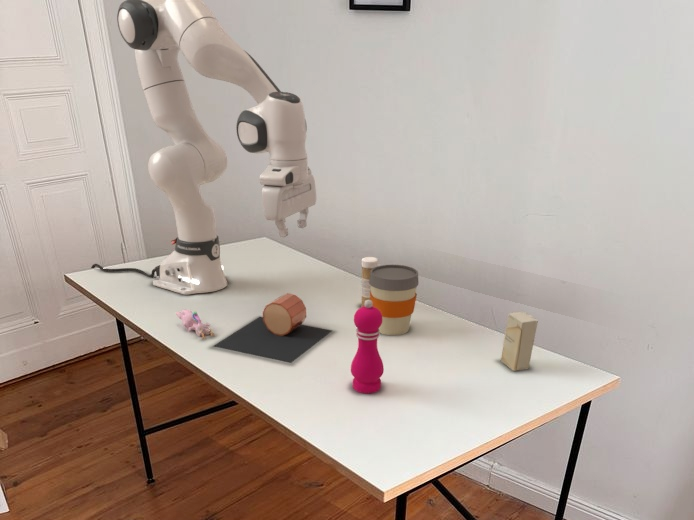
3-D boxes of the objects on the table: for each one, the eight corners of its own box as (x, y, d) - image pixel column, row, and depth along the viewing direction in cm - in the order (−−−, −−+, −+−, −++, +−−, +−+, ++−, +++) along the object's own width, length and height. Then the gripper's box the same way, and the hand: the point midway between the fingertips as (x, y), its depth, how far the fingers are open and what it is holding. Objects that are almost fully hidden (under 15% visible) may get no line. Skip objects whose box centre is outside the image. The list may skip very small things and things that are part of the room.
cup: (263, 332, 176) (261, 300, 171) (278, 322, 182) (276, 291, 177) (292, 338, 173) (291, 305, 168) (306, 328, 179) (305, 296, 174)
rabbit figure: (219, 340, 176) (190, 314, 184) (218, 319, 172) (189, 294, 180) (197, 346, 172) (168, 320, 180) (196, 325, 168) (167, 299, 176)
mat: (213, 347, 169) (212, 346, 168) (259, 317, 185) (259, 316, 185) (290, 364, 161) (290, 362, 161) (332, 331, 178) (332, 330, 178)
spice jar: (369, 302, 196) (370, 255, 188) (380, 307, 193) (381, 259, 185) (357, 306, 193) (358, 258, 186) (367, 310, 191) (368, 262, 183)
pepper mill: (385, 382, 154) (389, 295, 143) (379, 396, 148) (382, 307, 137) (354, 378, 155) (355, 292, 144) (347, 392, 150) (347, 304, 138)
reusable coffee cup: (372, 339, 174) (373, 281, 166) (364, 320, 184) (365, 265, 176) (420, 336, 176) (424, 279, 167) (410, 318, 186) (413, 263, 178)
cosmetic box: (500, 361, 164) (506, 312, 157) (515, 358, 165) (523, 310, 159) (514, 372, 159) (522, 322, 152) (530, 369, 161) (538, 319, 154)
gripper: (298, 163, 170) (301, 221, 178) (255, 177, 155) (261, 240, 162) (321, 164, 168) (323, 223, 176) (279, 179, 153) (284, 243, 160)
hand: (293, 231), depth 169 cm, fingers open, 8 cm apart
